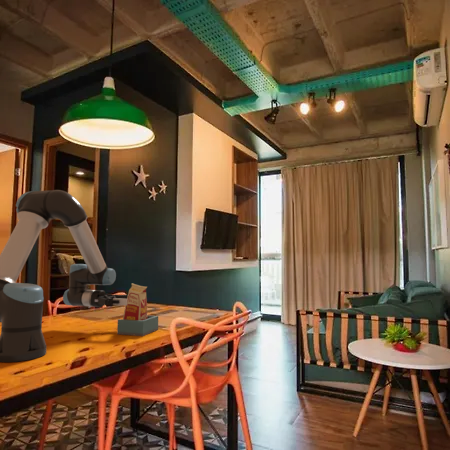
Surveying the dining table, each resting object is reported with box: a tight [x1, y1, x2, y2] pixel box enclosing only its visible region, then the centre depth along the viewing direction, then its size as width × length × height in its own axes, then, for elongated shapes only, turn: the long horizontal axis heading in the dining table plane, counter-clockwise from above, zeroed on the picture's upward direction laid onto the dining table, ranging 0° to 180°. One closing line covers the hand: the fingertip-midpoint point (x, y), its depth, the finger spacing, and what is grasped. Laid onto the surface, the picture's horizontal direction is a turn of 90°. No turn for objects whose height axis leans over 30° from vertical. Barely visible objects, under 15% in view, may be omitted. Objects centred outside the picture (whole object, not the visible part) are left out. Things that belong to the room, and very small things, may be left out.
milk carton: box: [122, 283, 148, 321], centre depth 154 cm, size 9×9×20 cm
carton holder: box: [116, 315, 159, 337], centre depth 153 cm, size 12×13×6 cm
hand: (135, 300), depth 155 cm, fingers open, 13 cm apart
